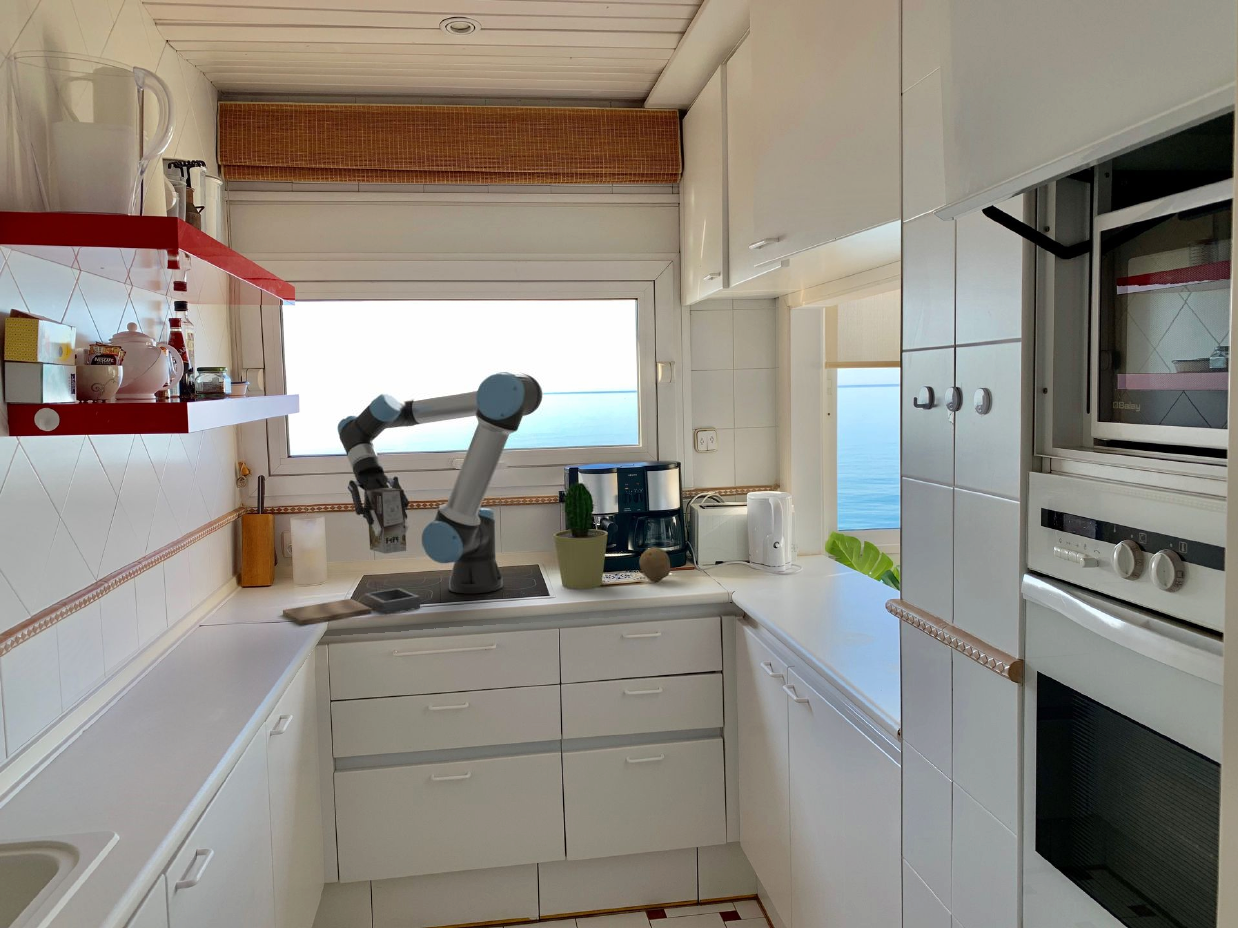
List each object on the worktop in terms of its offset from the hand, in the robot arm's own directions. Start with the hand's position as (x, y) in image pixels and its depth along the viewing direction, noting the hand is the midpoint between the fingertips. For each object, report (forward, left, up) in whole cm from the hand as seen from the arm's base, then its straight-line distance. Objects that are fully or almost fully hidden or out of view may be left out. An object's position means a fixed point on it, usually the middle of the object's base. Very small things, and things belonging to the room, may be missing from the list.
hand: (392, 531), depth 239 cm
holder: (0, -3, -20) cm, 21 cm away
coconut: (-70, +21, -21) cm, 76 cm away
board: (+16, -7, -20) cm, 27 cm away
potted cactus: (-52, +10, -21) cm, 57 cm away
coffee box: (0, -4, -6) cm, 7 cm away
